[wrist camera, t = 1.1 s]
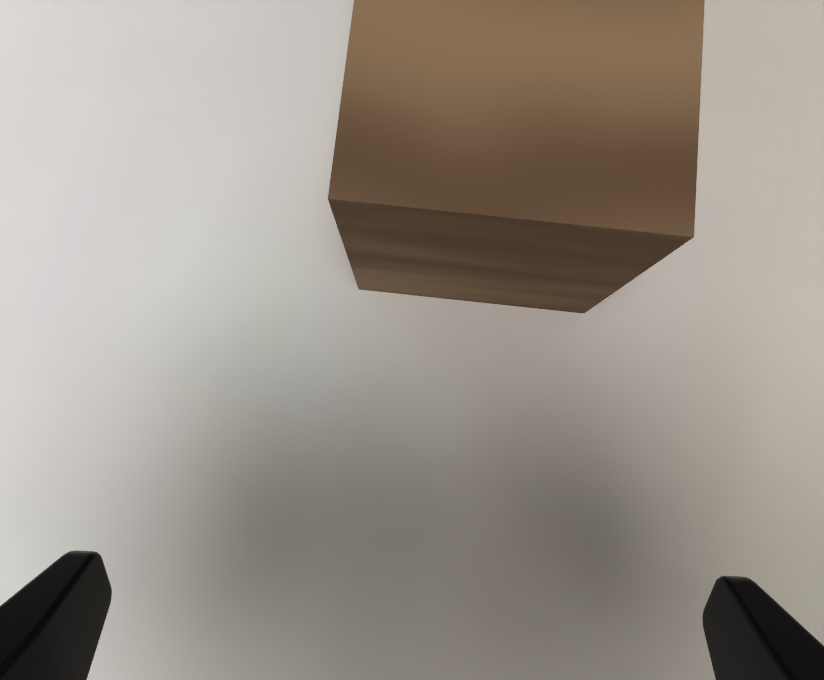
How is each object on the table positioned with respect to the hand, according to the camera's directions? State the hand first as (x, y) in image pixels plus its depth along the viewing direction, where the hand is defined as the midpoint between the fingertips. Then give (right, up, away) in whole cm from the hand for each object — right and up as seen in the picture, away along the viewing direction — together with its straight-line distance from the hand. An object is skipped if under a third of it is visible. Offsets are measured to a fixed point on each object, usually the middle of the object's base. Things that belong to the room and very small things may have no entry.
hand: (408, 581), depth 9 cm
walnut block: (+3, +12, +14) cm, 19 cm away
